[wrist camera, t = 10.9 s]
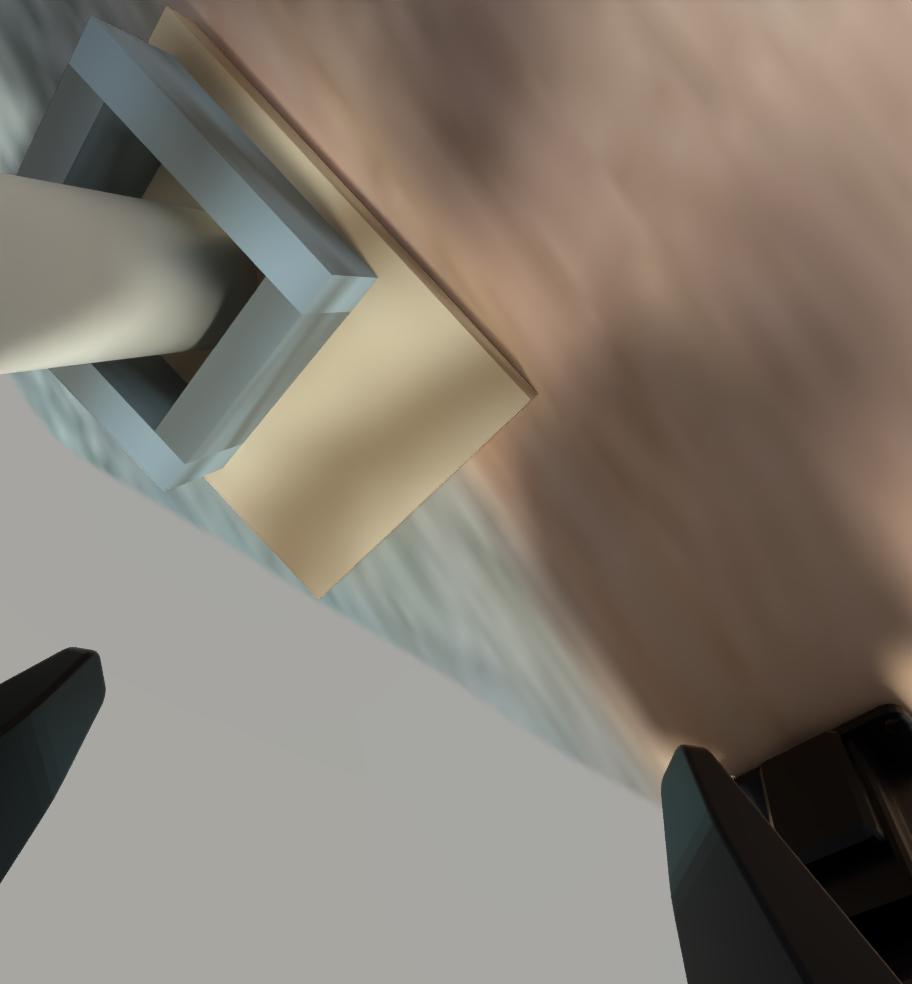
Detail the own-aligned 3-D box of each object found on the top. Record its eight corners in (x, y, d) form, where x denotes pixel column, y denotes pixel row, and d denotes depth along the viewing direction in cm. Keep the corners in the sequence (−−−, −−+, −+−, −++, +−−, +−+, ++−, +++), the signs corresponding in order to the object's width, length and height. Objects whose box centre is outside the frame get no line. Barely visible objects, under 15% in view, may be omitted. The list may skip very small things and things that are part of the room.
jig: (538, 394, 20) (509, 417, 16) (333, 586, 24) (273, 640, 21) (193, 21, 20) (82, -45, 16) (52, 284, 24) (-62, 282, 20)
